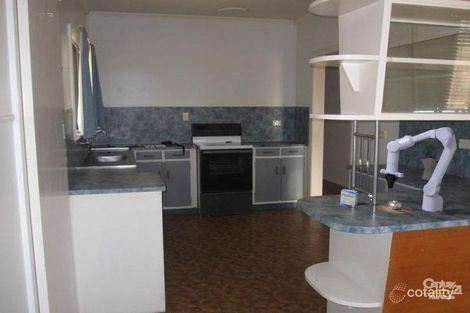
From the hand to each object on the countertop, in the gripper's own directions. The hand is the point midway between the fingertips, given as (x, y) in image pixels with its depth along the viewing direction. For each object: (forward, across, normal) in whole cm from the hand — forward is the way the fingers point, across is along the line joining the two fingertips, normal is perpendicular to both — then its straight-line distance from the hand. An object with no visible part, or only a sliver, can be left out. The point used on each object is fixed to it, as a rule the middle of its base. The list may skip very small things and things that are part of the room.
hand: (390, 188), depth 219 cm
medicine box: (+10, -4, -24) cm, 26 cm away
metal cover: (+8, +11, -7) cm, 15 cm away
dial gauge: (+9, +2, -14) cm, 17 cm away
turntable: (+9, +11, -7) cm, 16 cm away
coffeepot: (+10, -52, +91) cm, 105 cm away
